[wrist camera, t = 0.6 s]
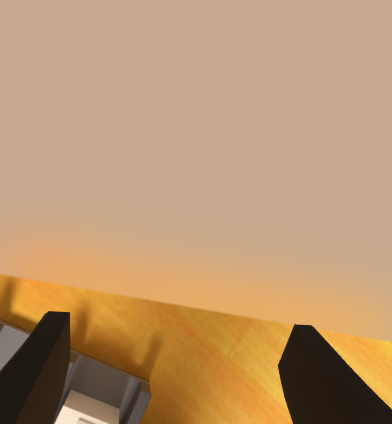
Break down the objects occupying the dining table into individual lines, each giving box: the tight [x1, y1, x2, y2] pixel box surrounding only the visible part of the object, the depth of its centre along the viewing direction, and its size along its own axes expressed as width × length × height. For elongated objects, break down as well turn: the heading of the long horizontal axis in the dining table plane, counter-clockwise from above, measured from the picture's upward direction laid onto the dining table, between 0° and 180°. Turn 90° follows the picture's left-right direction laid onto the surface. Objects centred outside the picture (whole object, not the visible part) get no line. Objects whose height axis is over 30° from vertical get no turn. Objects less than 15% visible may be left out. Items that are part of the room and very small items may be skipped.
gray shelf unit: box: [0, 320, 151, 424], centre depth 31 cm, size 10×16×4 cm, turn 66°
